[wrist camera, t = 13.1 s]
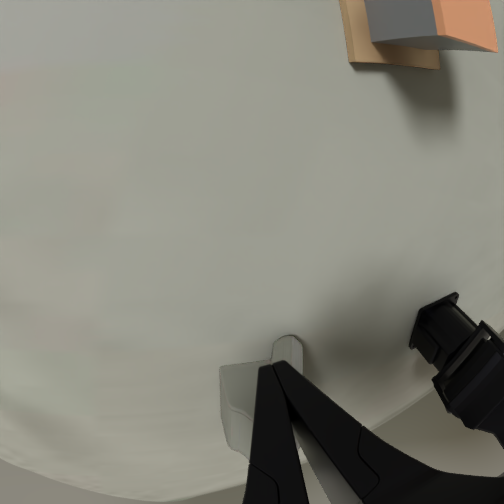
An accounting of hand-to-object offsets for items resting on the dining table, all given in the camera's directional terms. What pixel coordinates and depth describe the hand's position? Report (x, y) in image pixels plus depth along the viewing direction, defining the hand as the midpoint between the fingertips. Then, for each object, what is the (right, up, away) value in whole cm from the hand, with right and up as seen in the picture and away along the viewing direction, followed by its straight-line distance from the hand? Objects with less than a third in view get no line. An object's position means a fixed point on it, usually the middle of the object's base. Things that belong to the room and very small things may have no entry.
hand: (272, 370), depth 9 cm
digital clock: (0, -10, +20) cm, 22 cm away
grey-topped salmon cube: (+9, +20, +5) cm, 22 cm away
